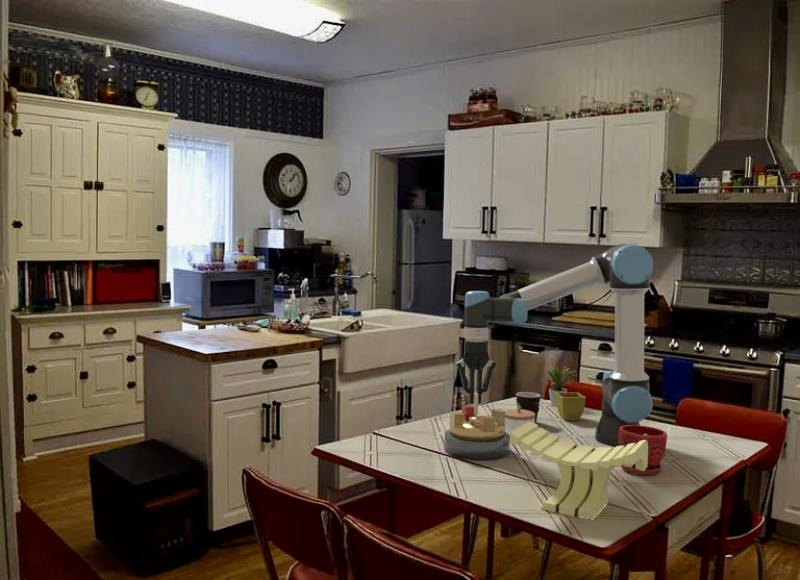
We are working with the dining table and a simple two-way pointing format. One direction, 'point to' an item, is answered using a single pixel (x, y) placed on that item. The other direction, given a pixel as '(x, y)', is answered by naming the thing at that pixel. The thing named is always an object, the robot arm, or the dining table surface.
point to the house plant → (558, 383)
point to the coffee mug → (528, 402)
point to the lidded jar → (517, 418)
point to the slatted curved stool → (579, 468)
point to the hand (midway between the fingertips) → (474, 413)
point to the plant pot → (653, 438)
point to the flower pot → (570, 405)
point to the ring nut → (477, 425)
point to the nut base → (476, 448)
